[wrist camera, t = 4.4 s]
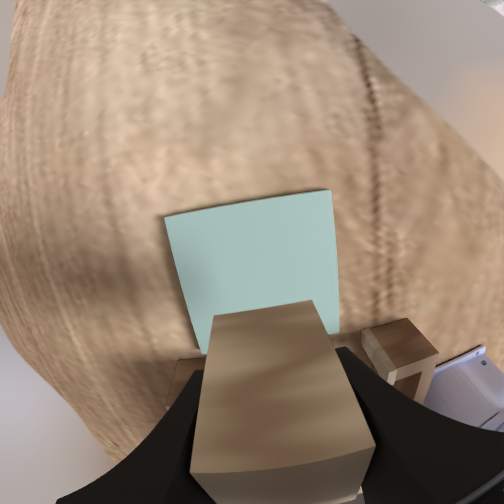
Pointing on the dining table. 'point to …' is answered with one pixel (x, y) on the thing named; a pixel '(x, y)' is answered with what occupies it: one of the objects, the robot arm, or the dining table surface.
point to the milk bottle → (493, 2)
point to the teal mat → (257, 257)
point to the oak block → (278, 412)
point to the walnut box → (380, 353)
